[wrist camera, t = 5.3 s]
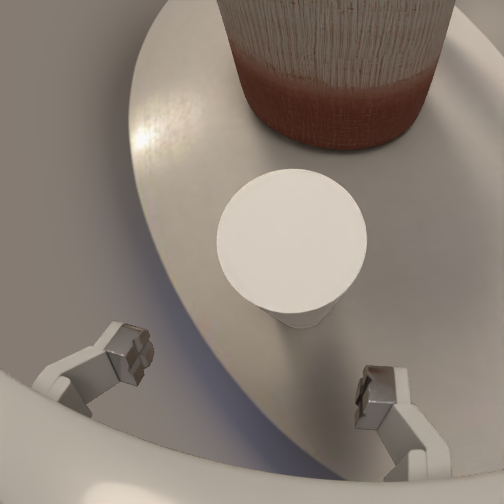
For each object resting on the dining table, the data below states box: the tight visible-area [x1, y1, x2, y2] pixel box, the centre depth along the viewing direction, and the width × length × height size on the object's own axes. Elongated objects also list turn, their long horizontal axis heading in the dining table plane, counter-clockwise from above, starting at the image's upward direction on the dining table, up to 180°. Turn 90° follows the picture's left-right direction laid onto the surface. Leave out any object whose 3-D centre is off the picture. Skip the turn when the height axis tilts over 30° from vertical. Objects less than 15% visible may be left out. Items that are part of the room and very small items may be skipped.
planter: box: [217, 0, 455, 150], centre depth 20 cm, size 18×18×16 cm
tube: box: [217, 169, 367, 329], centre depth 16 cm, size 4×4×15 cm
